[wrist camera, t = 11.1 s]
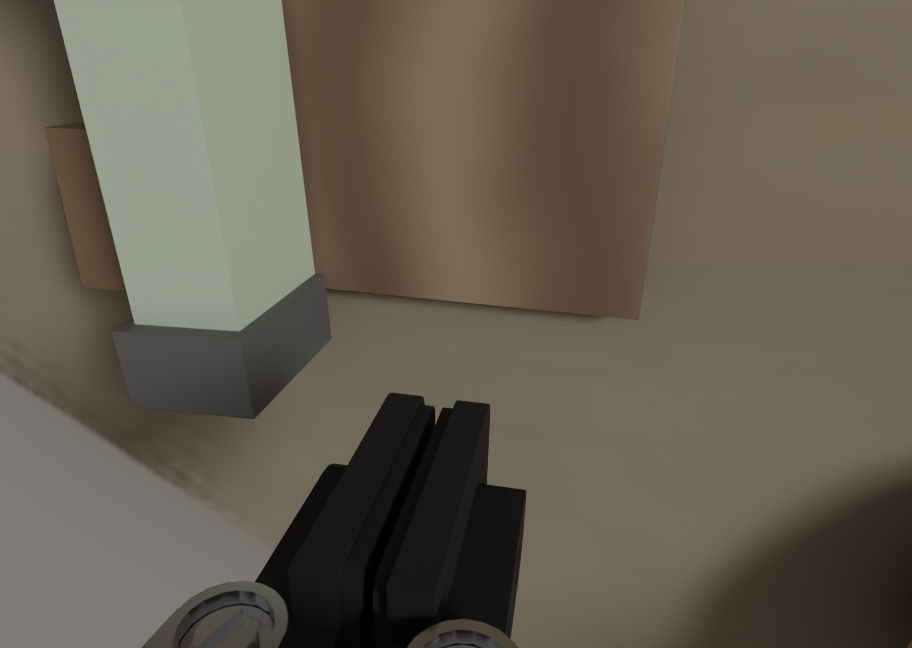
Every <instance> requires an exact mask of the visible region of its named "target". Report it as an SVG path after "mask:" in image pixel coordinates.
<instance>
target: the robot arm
mask: <svg viewBox="0 0 912 648" xmlns="http://www.w3.org/2000/svg"><path fill="white" fill-rule="evenodd" d="M489 426H490V405H489V404H485V403H476V402H467V401H459V400H457V401H456V402H455V405H454V407H453V409H452V408H442V410H441V413H440V415H439V418H438V420H437V423H436V425H435V408H434V406H427V405H425V402H424V398H423V396H416V395H407V394H398V393H389V395H388V396H387V397H386V399H385V401H384V403H383V404H382V406H381V408H380V410H379V411H378V413H377V415H376V417H375V418H374V420H373V422H372V424H371V425H370V427H369V429H368V431H367V432H366V434H365V436H364V438H363V439H362V441H361V443H360V444H359V446H358V448H357V450H356V451H355V453H354V455H353V457H352V458H351V460H350V462H349V464H348V465H340V464H331V465H328V467H327V468H326V469H325V470H324V472H323V473H322V475H321V476H320V478H319V480H318V481H317V483H316V484H315V486H314V488H313V489H312V491H311V493H310V494H309V496H308V497H307V499H306V501H305V502H304V504H303V505H302V507H301V509H300V510H299V512H298V513H297V515H296V517H295V518H294V520H293V522H292V523H291V525H290V526H289V528H288V530H287V531H286V533H285V534H284V536H283V538H282V539H281V541H280V542H279V544H278V546H277V547H276V549H275V550H274V552H273V554H272V555H271V557H270V559H269V560H268V562H267V564H266V565H265V567H264V568H263V570H262V571H261V573H260V575H259V576H258V578H257V580H256V581H255V582H249V581H238V582H227V583H223V584H221V585H217V586H214V587H211V588H208V589H206V590H204V591H202V592H200V593H199V594H197V595H195V596H193V597H191V598H190V599H189V600H188V601H187V602H185V603H184V604H183V605H182V606H181V607H179V608H178V609H177V610H176V611H175V612H174V613H173V614H172V615H171V616H170V617H169V618H168V620H167V621H166V622H165V623H164V624H163V625H162V626H161V627H160V628H159V629H158V630H157V631H156V632H155V633H154V635H153V636H152V637H151V638H150V639H149V640H148V641H147V642H146V643H145V644H144V645H143V647H142V648H518V647H517V646H516V644H515V643H514V642H513V641H512V640H511V639H510V638H511V631H512V623H513V616H514V608H515V600H516V593H517V585H518V577H519V569H520V560H521V550H522V540H523V529H524V517H525V504H526V490H522V489H514V488H507V487H500V486H493V485H487V468H488V447H489Z"/></svg>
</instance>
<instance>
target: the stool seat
mask: <svg viewBox="0 0 912 648" xmlns="http://www.w3.org/2000/svg"><path fill="white" fill-rule="evenodd" d="M281 1H282V9H283V17H284V25H285V33H286V41H287V50H288V58H289V66H290V74H291V82H292V90H293V99H294V107H295V115H296V123H297V131H298V139H299V147H300V156H301V164H302V172H303V180H304V188H305V196H306V205H307V213H308V221H309V229H310V237H311V245H312V254H313V262H314V270H315V274H324V279H325V288H326V289H335V290H345V291H355V292H365V293H375V294H385V295H395V296H405V297H415V298H425V299H435V300H445V301H455V302H465V303H475V304H485V305H495V306H505V307H515V308H525V309H535V310H545V311H555V312H565V313H575V314H585V315H594V316H604V317H614V318H624V319H634V320H639V313H640V307H641V300H642V293H643V286H644V280H645V273H646V266H647V260H648V253H649V246H650V239H651V233H652V226H653V219H654V213H655V206H656V199H657V192H658V186H659V179H660V172H661V166H662V159H663V152H664V146H665V139H666V132H667V125H668V119H669V112H670V105H671V99H672V92H673V85H674V78H675V72H676V65H677V58H678V52H679V45H680V38H681V31H682V25H683V18H684V11H685V5H686V0H281ZM45 130H46V134H47V139H48V143H49V147H50V151H51V156H52V160H53V164H54V168H55V173H56V177H57V181H58V185H59V190H60V194H61V198H62V202H63V207H64V211H65V215H66V219H67V224H68V228H69V232H70V236H71V241H72V245H73V249H74V253H75V258H76V262H77V266H78V270H79V275H80V279H81V283H82V287H85V288H94V289H103V290H113V291H122V292H127V291H126V287H125V283H124V279H123V275H122V271H121V267H120V263H119V259H118V255H117V251H116V247H115V243H114V239H113V235H112V231H111V227H110V223H109V219H108V215H107V211H106V207H105V203H104V199H103V195H102V191H101V187H100V183H99V179H98V175H97V171H96V167H95V163H94V159H93V155H92V151H91V147H90V143H89V139H88V135H87V131H86V127H85V123H84V122H81V123H73V124H66V125H59V126H52V127H45Z"/></svg>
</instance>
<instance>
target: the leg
mask: <svg viewBox="0 0 912 648" xmlns="http://www.w3.org/2000/svg"><path fill="white" fill-rule="evenodd" d="M54 3H55V7H56V11H57V15H58V19H59V23H60V27H61V31H62V35H63V39H64V43H65V47H66V51H67V55H68V59H69V63H70V67H71V71H72V75H73V79H74V83H75V87H76V91H77V95H78V99H79V103H80V107H81V111H82V115H83V119H84V123H85V127H86V131H87V135H88V139H89V143H90V147H91V151H92V155H93V159H94V163H95V167H96V171H97V175H98V179H99V183H100V187H101V191H102V195H103V199H104V203H105V207H106V211H107V215H108V219H109V223H110V227H111V231H112V235H113V239H114V243H115V247H116V251H117V255H118V259H119V263H120V267H121V271H122V275H123V279H124V283H125V287H126V291H127V295H128V299H129V303H130V307H131V311H132V315H133V319H132V320H130V321H128V322H126V323H125V324H123V325H121V326H119V327H118V328H116V329H114V330H112V331H111V333H112V337H113V340H114V344H115V348H116V352H117V355H118V359H119V363H120V367H121V370H122V374H123V378H124V382H125V385H126V389H127V393H128V397H129V400H130V404H131V407H139V408H149V409H159V410H169V411H179V412H188V413H198V414H208V415H218V416H228V417H238V418H248V419H255V418H256V417H257V416H258V415H259V413H260V412H261V411H262V410H263V409H264V408H265V407H266V406H267V405H268V404H269V403H270V402H271V401H272V400H273V399H274V398H275V397H276V396H277V395H278V394H279V393H280V391H281V390H282V389H283V388H284V387H285V386H286V385H287V384H288V383H289V382H290V381H291V380H292V379H293V378H294V377H295V376H296V375H297V374H298V373H299V372H300V371H301V370H302V368H303V367H304V366H305V365H306V364H307V363H308V362H309V361H310V360H311V359H312V358H313V357H314V356H315V355H316V354H317V353H318V352H319V351H320V350H321V349H322V348H323V346H324V345H325V344H326V343H327V342H328V341H329V340H330V339H331V331H330V322H329V313H328V305H327V296H326V288H325V279H324V274H315V270H314V262H313V254H312V245H311V237H310V229H309V221H308V213H307V205H306V196H305V188H304V180H303V172H302V164H301V156H300V147H299V139H298V131H297V123H296V115H295V107H294V99H293V90H292V82H291V74H290V66H289V58H288V50H287V41H286V33H285V25H284V17H283V9H282V1H281V0H54Z"/></svg>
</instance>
